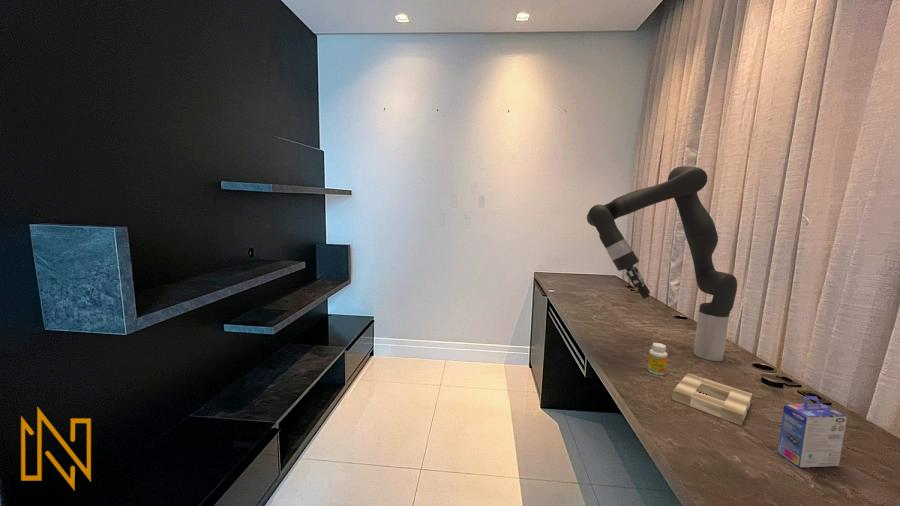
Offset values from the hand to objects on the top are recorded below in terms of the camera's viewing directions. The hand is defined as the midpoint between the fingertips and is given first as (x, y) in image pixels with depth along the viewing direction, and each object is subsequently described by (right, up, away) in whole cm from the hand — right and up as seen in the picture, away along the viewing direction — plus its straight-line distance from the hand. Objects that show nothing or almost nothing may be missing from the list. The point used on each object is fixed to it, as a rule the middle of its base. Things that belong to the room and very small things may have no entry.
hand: (647, 295), depth 119 cm
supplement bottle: (+3, -27, 0) cm, 27 cm away
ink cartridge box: (+13, -33, -40) cm, 54 cm away
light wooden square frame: (+9, -29, -18) cm, 35 cm away
